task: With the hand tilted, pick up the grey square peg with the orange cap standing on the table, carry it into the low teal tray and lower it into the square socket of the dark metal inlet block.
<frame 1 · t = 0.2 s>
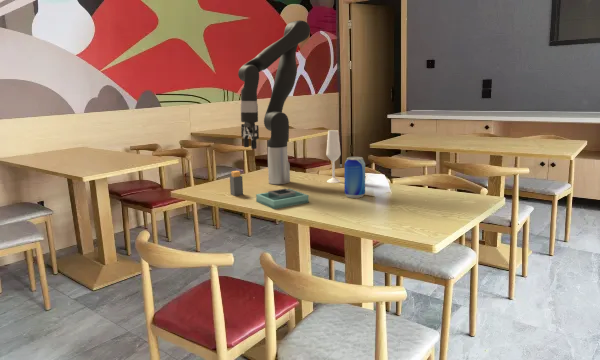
hand: (250, 147, 219), 18 cm above the table, tool pointing down, fingers open, 8 cm apart
champagne flute: (333, 181, 231), on the table
inlet: (282, 195, 195), in the tray, point 3 cm above the table
beer can: (354, 196, 203), on the table
tray: (282, 202, 196), on the table
grey square peg: (236, 194, 210), on the table
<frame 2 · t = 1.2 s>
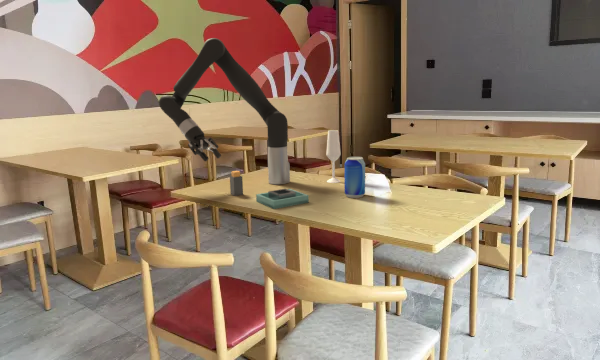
hand: (213, 158, 212), 15 cm above the table, tool tilted 45°, fingers open, 8 cm apart
nothing on the table moved.
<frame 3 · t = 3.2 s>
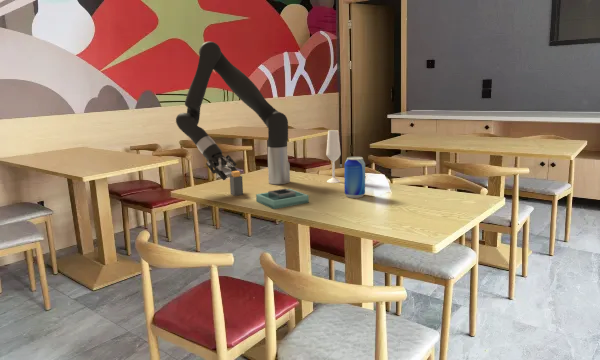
hand: (231, 177, 209), 7 cm above the table, tool tilted 45°, fingers open, 8 cm apart
nothing on the table moved.
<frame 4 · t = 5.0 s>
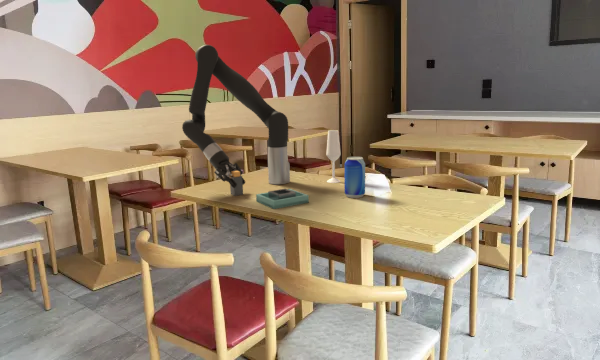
hand: (239, 185, 208), 4 cm above the table, tool tilted 45°, fingers closed on grey square peg, 5 cm apart
grey square peg: (236, 194, 210), on the table, touching gripper
everything else where it was.
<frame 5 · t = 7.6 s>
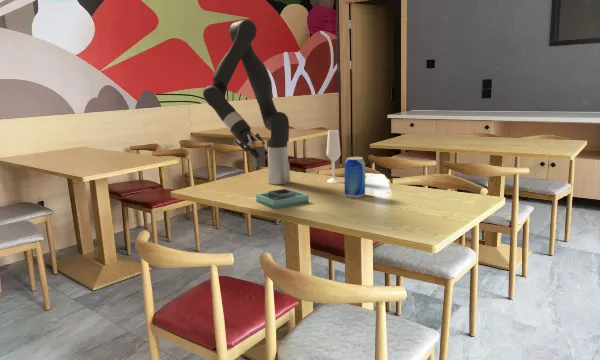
hand: (262, 155, 197), 18 cm above the table, tool tilted 45°, fingers closed on grey square peg, 5 cm apart
grey square peg: (258, 165, 199), point 14 cm above the table, touching gripper
everything else where it was.
when the fingers open (6 cm above the table, at t = 10.7 s): grey square peg stays where it is, resting on tray.
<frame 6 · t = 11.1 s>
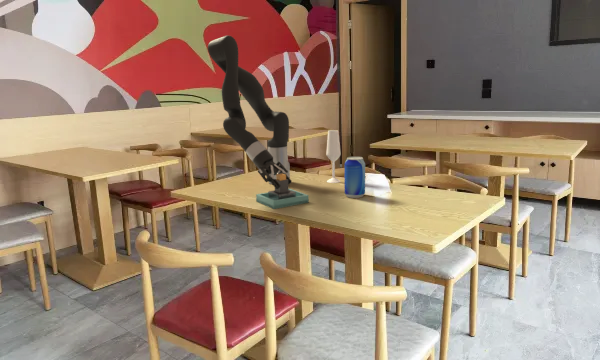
hand: (284, 185, 193), 7 cm above the table, tool tilted 45°, fingers open, 8 cm apart
grey square peg: (281, 199, 195), point 1 cm above the table, touching tray
everything else where it was.
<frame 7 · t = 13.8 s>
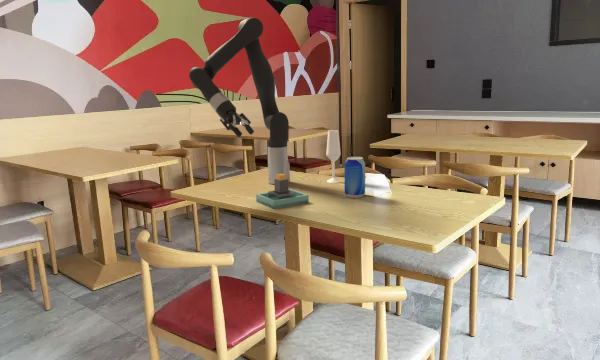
hand: (246, 134, 200), 26 cm above the table, tool tilted 45°, fingers open, 8 cm apart
nothing on the table moved.
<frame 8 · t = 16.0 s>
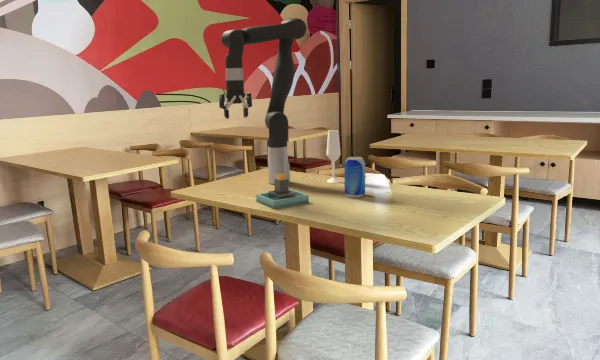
hand: (236, 117, 209), 32 cm above the table, tool pointing down, fingers open, 8 cm apart
nothing on the table moved.
at the end: grey square peg 0.1 cm off-centre on the inlet, point 1.2 cm above the inlet's base; grey square peg tilted 0°; the gripper is holding nothing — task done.
